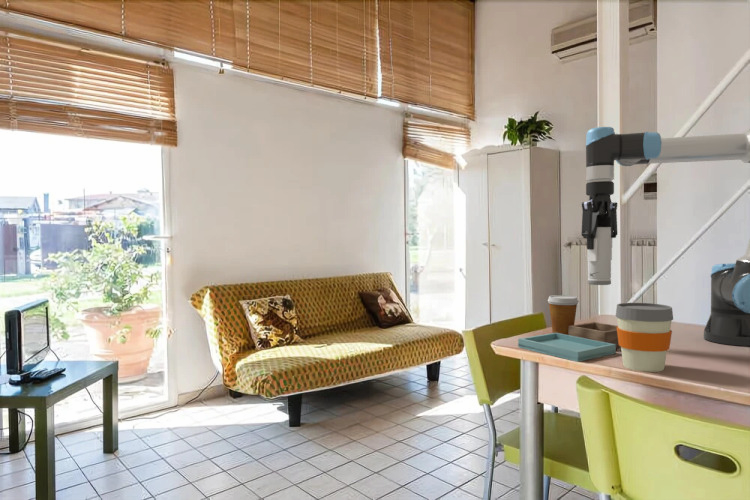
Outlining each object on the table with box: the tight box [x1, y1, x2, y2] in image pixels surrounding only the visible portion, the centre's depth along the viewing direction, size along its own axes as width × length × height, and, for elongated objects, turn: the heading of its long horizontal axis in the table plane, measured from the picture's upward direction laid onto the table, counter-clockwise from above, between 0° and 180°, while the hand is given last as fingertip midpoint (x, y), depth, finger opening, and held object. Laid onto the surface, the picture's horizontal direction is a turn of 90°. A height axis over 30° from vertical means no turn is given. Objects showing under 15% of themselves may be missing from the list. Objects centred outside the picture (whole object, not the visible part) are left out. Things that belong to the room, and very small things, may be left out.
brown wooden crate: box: [569, 321, 621, 349], centre depth 153 cm, size 12×12×5 cm
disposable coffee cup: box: [547, 294, 579, 335], centre depth 169 cm, size 10×10×12 cm
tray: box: [517, 332, 617, 362], centre depth 146 cm, size 20×16×2 cm
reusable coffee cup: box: [615, 302, 674, 373], centre depth 127 cm, size 13×12×15 cm
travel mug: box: [587, 216, 612, 286], centre depth 152 cm, size 6×7×20 cm
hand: (599, 260), depth 153 cm, fingers closed on travel mug, 6 cm apart
